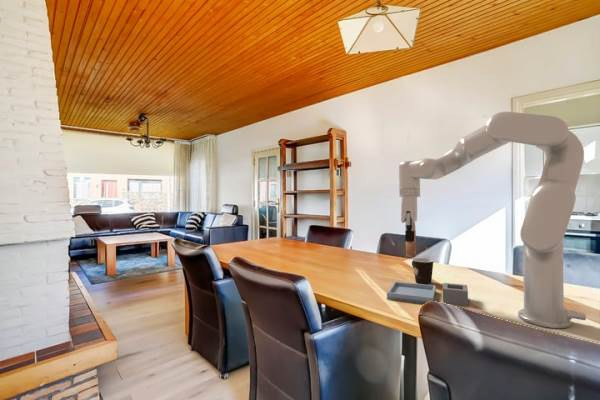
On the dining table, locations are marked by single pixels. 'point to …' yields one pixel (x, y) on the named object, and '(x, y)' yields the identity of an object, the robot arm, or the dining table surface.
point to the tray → (411, 292)
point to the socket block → (455, 293)
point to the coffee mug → (423, 270)
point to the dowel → (411, 246)
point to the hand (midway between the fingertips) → (410, 240)
